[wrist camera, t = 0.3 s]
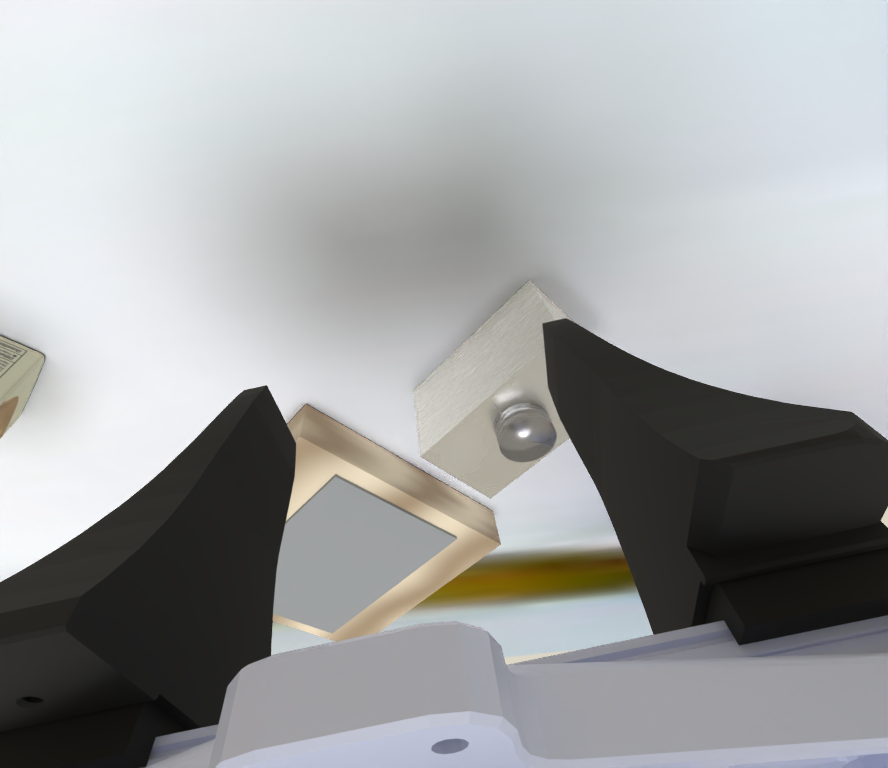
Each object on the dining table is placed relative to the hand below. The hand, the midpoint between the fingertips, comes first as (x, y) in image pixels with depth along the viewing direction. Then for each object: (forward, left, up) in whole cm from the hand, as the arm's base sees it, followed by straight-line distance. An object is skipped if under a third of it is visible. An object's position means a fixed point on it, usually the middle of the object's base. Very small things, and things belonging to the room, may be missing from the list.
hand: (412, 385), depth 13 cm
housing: (-8, +1, -10) cm, 13 cm away
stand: (-9, +16, -10) cm, 21 cm away
